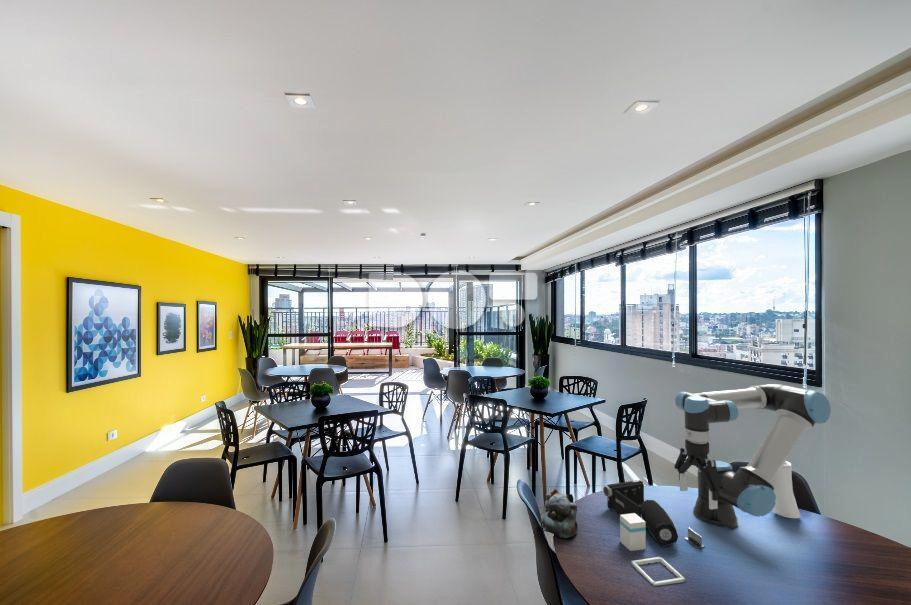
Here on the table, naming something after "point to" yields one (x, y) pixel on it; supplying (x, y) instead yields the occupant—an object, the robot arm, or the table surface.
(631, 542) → the block
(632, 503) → the camcorder
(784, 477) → the white bottle
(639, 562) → the tray
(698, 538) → the card holder
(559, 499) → the lucky cat figurine
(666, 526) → the portable speaker
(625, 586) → the table surface
